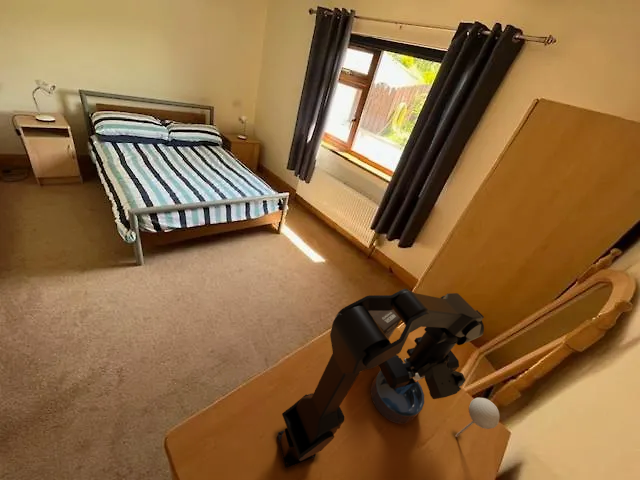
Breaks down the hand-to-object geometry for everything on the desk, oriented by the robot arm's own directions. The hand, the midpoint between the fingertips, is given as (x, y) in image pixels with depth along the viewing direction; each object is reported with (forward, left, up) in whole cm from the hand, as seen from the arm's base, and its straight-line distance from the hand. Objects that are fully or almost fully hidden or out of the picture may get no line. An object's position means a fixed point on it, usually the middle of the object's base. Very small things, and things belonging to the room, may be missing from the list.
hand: (404, 383), depth 72 cm
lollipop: (+11, -12, -8) cm, 18 cm away
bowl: (0, 0, -8) cm, 8 cm away
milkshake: (0, 0, -3) cm, 3 cm away
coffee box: (-1, +14, -8) cm, 16 cm away
